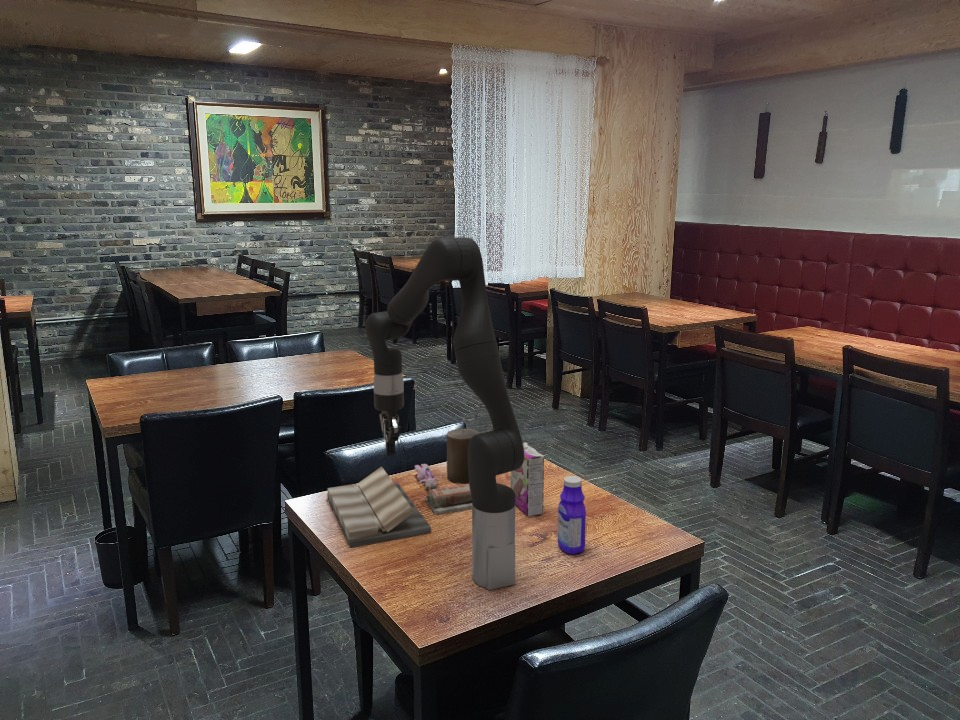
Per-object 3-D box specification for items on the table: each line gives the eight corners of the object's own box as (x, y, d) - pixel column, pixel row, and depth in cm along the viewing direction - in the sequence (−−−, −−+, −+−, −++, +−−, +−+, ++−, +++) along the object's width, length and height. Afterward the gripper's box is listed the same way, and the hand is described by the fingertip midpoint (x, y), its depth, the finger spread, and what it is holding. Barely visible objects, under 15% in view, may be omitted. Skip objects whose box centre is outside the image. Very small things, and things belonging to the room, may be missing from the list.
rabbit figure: (444, 494, 197) (429, 468, 210) (445, 476, 195) (429, 451, 208) (423, 498, 195) (408, 471, 208) (423, 479, 193) (409, 453, 206)
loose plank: (414, 512, 170) (410, 506, 169) (384, 534, 168) (380, 528, 167) (385, 471, 195) (381, 466, 194) (359, 490, 193) (355, 485, 192)
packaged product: (434, 499, 180) (424, 485, 189) (435, 517, 181) (424, 502, 190) (499, 489, 186) (485, 476, 195) (499, 506, 187) (485, 492, 196)
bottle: (553, 543, 166) (554, 475, 162) (574, 539, 168) (576, 471, 164) (567, 557, 160) (569, 486, 156) (589, 553, 161) (591, 483, 158)
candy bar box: (509, 500, 190) (509, 444, 186) (525, 498, 191) (526, 441, 188) (526, 517, 180) (527, 458, 176) (544, 514, 181) (545, 455, 178)
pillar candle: (475, 485, 200) (475, 435, 197) (442, 481, 202) (442, 432, 199) (482, 472, 209) (483, 425, 206) (451, 470, 212) (451, 422, 208)
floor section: (431, 532, 172) (430, 519, 171) (350, 547, 164) (349, 534, 163) (397, 487, 199) (397, 476, 198) (327, 498, 191) (326, 486, 190)
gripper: (410, 395, 171) (412, 461, 175) (396, 382, 183) (397, 444, 187) (380, 398, 168) (382, 465, 172) (368, 384, 180) (370, 448, 184)
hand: (390, 454), depth 179 cm, fingers closed
